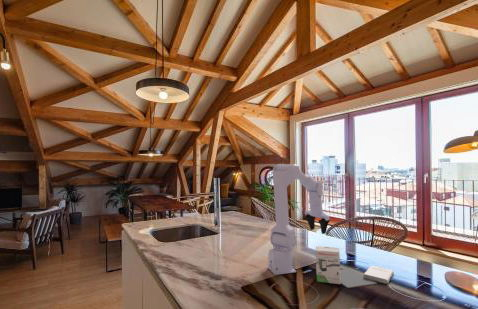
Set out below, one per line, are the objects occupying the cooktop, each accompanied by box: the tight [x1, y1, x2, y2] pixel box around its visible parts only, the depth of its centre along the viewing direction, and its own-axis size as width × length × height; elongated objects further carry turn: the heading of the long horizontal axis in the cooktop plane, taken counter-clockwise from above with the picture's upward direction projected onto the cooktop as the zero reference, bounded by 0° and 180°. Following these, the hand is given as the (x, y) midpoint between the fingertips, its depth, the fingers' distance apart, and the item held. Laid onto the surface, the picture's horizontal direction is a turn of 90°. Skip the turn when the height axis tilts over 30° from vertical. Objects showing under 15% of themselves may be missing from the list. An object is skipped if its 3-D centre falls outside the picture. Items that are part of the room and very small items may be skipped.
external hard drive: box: [362, 265, 394, 284], centre depth 102 cm, size 2×8×12 cm
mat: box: [340, 268, 378, 289], centre depth 101 cm, size 12×14×1 cm
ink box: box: [315, 245, 342, 285], centre depth 98 cm, size 9×5×12 cm, turn 71°
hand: (318, 231), depth 130 cm, fingers open, 7 cm apart
